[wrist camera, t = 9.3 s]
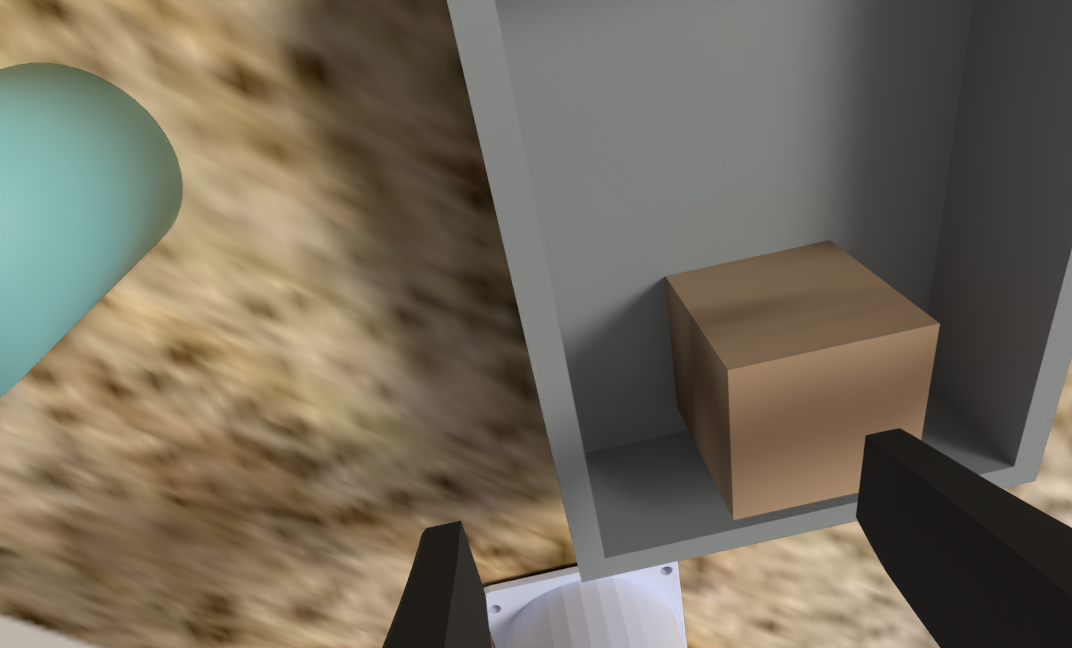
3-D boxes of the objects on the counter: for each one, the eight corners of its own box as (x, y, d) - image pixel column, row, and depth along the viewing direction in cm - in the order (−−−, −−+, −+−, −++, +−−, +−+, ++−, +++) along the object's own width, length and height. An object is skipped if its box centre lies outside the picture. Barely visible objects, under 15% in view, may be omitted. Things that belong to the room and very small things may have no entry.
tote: (927, 382, 23) (1035, 480, 19) (557, 465, 23) (581, 582, 19) (1025, -252, 14) (1273, -339, 10) (423, -121, 14) (411, -152, 10)
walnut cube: (822, 375, 22) (914, 480, 17) (677, 407, 22) (733, 520, 17) (829, 239, 19) (940, 323, 15) (665, 275, 19) (727, 370, 15)
